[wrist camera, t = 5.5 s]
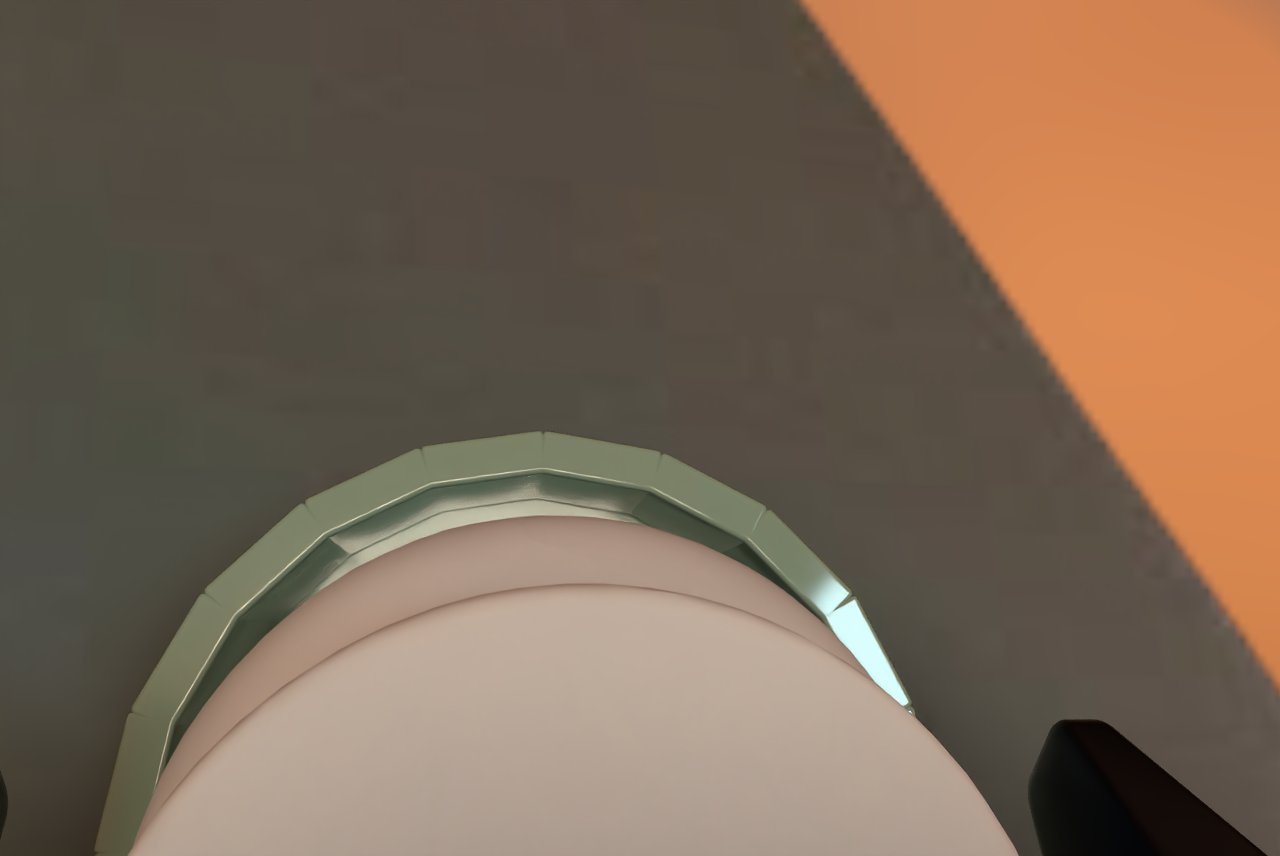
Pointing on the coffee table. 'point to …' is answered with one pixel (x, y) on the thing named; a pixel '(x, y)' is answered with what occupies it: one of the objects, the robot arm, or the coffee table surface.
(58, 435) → the coffee table surface
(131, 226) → the coffee table surface
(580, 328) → the coffee table surface
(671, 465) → the bowl
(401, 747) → the pill bottle
